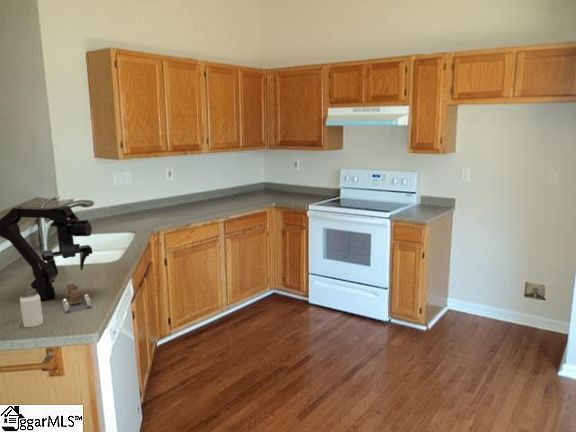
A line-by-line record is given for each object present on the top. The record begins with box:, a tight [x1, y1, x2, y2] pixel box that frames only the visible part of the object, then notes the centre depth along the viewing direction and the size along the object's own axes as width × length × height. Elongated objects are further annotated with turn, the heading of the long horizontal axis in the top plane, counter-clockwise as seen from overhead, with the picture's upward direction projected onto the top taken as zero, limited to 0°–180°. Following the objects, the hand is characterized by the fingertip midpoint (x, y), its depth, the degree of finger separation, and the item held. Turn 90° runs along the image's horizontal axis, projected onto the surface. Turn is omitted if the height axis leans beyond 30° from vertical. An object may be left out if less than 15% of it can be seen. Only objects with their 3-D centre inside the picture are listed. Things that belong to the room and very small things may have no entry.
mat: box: [61, 299, 93, 315], centre depth 187 cm, size 10×12×1 cm
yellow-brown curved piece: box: [68, 299, 81, 305], centre depth 189 cm, size 4×4×2 cm
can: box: [19, 290, 44, 328], centre depth 170 cm, size 6×6×12 cm
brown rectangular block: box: [66, 283, 82, 303], centre depth 192 cm, size 12×4×6 cm, turn 33°
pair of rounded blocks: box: [61, 293, 92, 314], centre depth 184 cm, size 10×6×4 cm, turn 122°
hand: (69, 272), depth 193 cm, fingers open, 9 cm apart
